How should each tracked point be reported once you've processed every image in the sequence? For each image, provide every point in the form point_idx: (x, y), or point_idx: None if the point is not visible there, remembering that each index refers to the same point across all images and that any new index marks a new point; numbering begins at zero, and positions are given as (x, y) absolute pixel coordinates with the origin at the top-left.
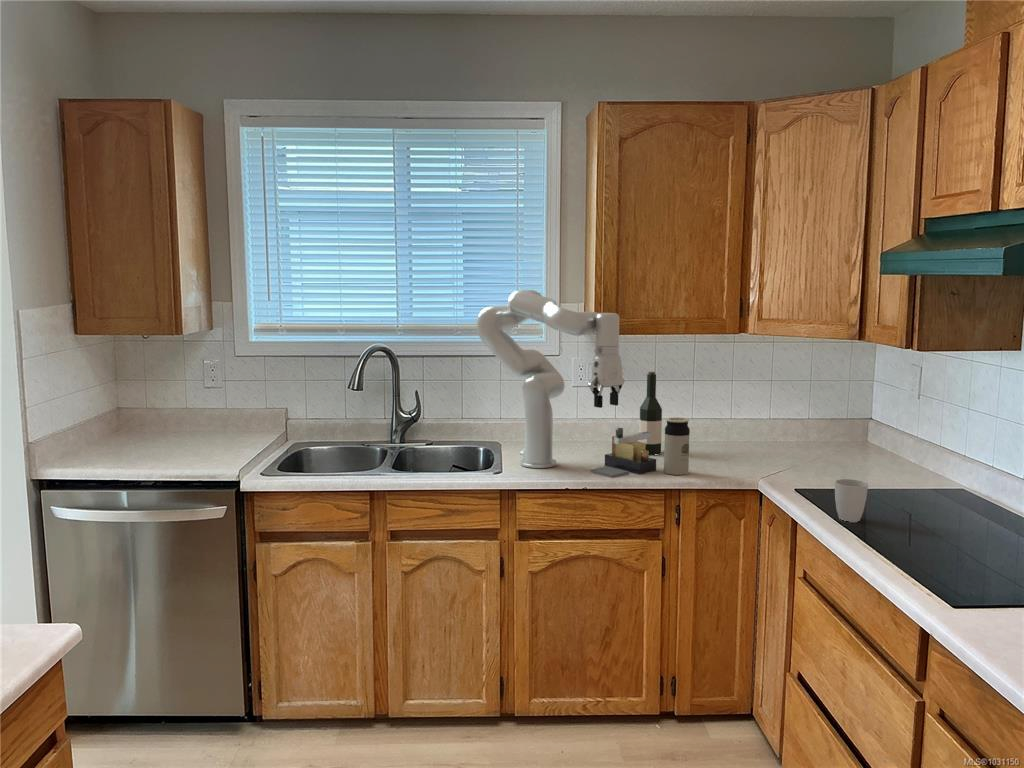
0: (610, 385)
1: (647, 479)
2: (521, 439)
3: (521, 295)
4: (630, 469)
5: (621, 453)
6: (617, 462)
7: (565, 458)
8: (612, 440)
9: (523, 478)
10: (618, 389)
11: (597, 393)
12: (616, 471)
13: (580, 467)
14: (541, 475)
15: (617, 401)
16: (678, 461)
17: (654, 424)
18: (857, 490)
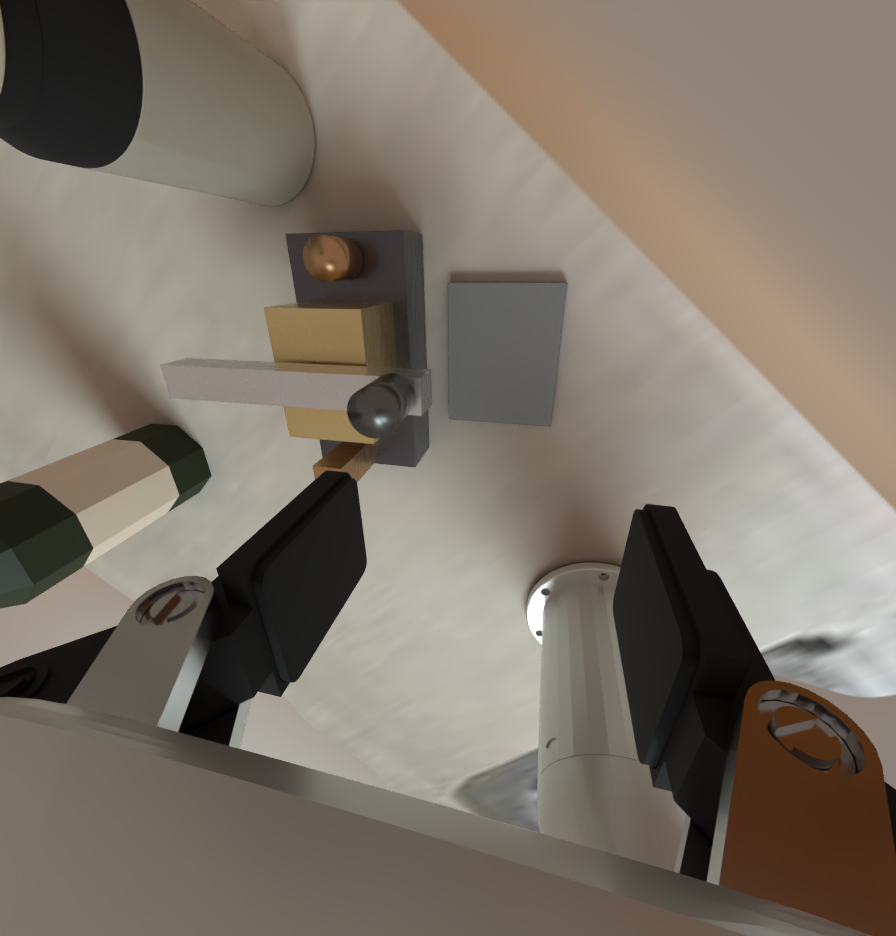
0: (493, 889)
1: (465, 122)
2: (388, 766)
3: None
4: (420, 301)
5: None
6: None
7: (453, 598)
8: None
9: (850, 536)
10: (139, 636)
11: (848, 776)
12: (492, 322)
13: (516, 493)
14: (746, 517)
15: (315, 493)
16: (238, 37)
17: (61, 482)
18: None
